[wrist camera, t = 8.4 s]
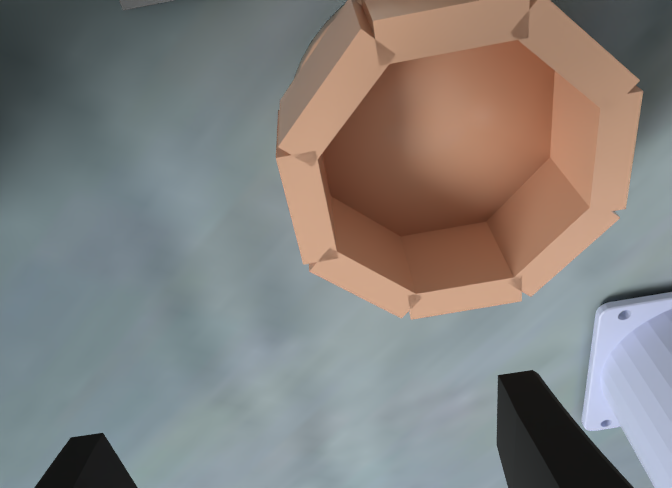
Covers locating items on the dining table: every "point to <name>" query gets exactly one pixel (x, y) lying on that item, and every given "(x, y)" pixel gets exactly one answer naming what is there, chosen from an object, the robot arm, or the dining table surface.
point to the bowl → (453, 150)
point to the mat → (139, 3)
